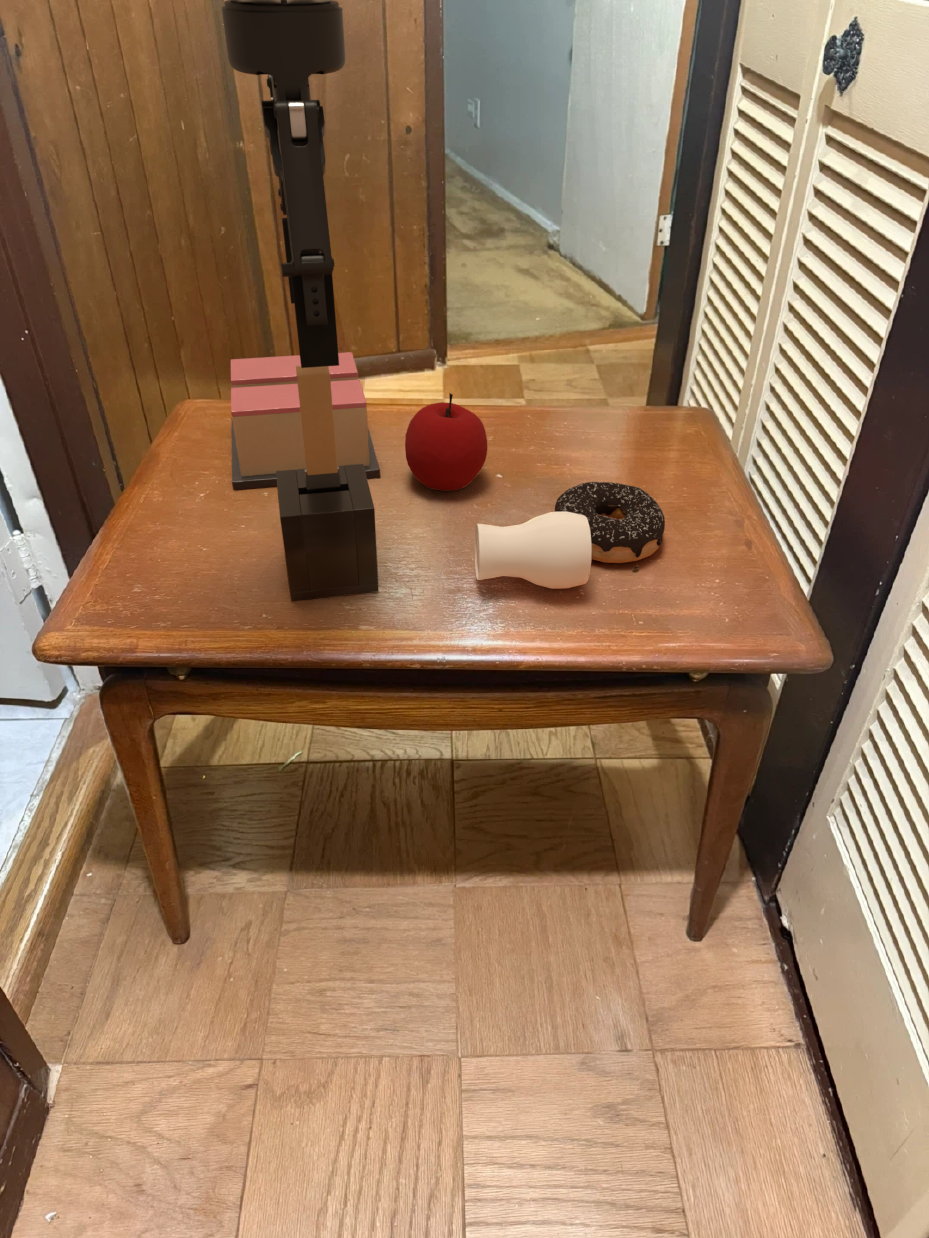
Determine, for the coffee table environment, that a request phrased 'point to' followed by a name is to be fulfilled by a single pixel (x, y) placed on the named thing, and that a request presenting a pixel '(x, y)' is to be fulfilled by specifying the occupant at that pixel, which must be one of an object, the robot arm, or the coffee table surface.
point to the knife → (318, 430)
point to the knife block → (328, 535)
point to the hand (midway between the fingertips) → (313, 331)
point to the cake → (291, 419)
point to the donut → (616, 519)
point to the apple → (445, 446)
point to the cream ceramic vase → (537, 550)
